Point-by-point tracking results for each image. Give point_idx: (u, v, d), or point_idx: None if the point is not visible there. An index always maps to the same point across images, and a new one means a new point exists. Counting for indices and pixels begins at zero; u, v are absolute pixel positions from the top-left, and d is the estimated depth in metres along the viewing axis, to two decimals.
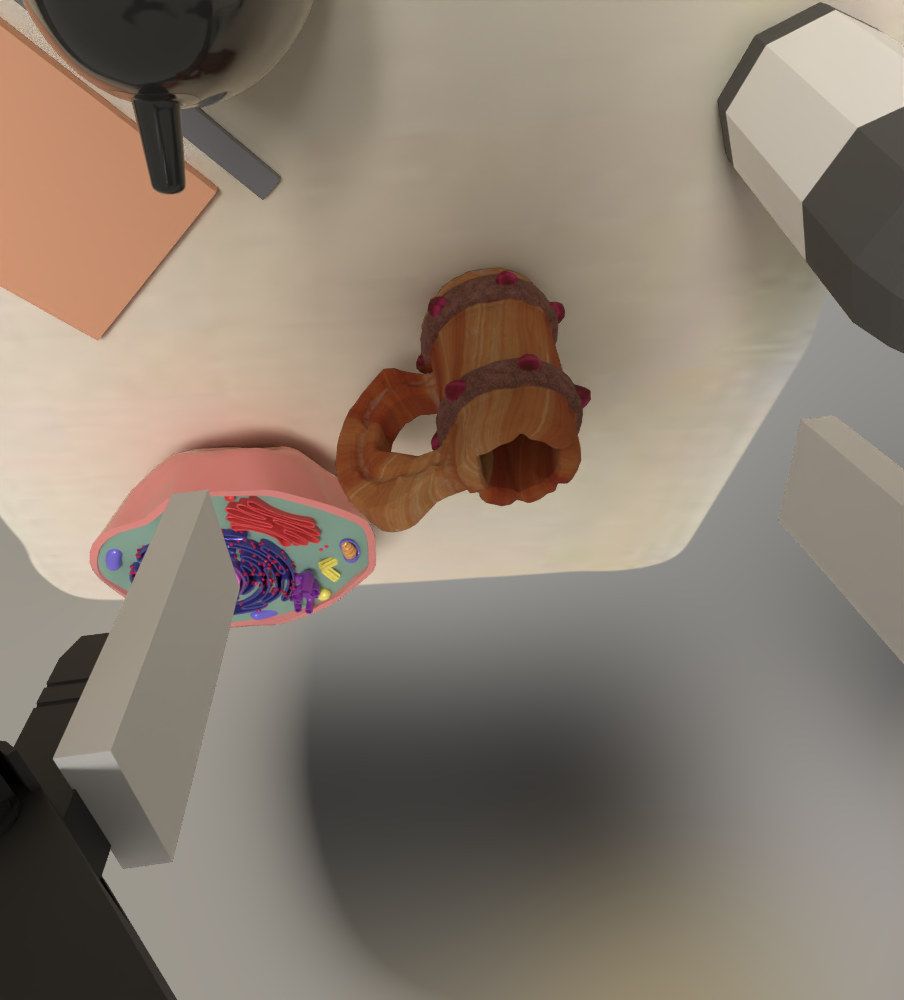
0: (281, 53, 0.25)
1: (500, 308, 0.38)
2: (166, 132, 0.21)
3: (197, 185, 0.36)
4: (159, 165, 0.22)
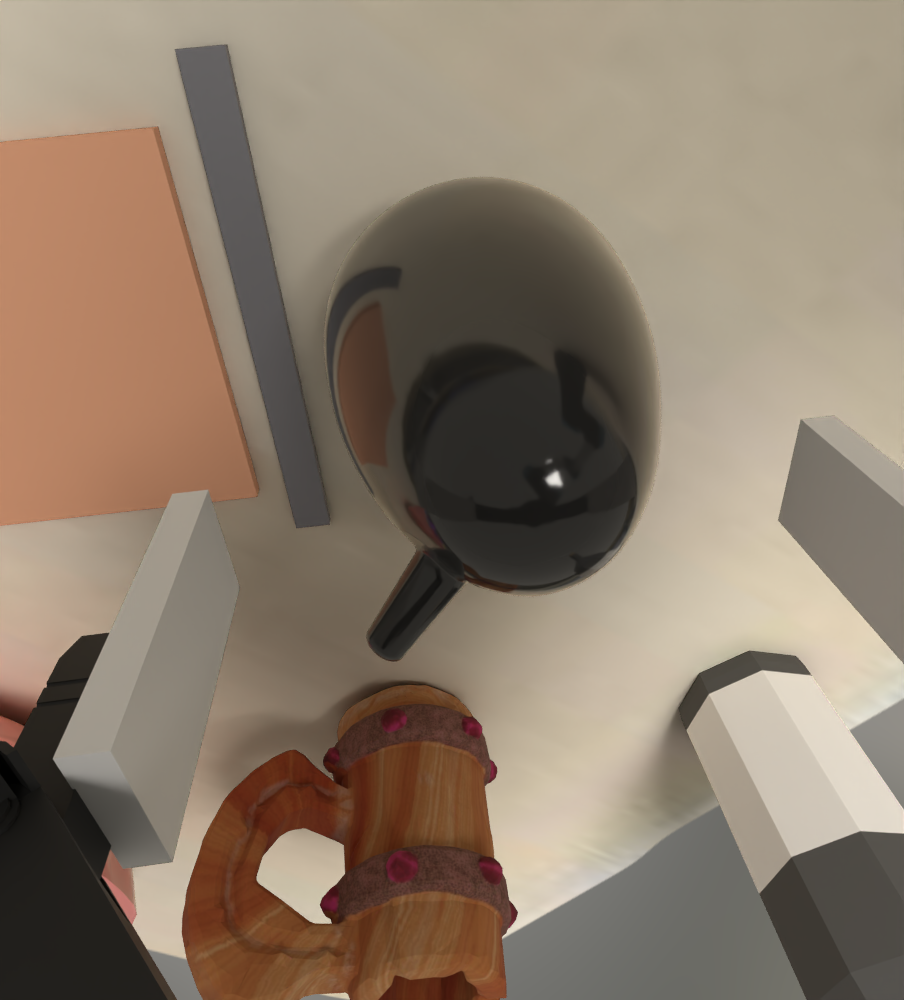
0: None
1: (456, 758, 0.34)
2: (439, 608, 0.16)
3: (244, 480, 0.29)
4: (403, 632, 0.16)
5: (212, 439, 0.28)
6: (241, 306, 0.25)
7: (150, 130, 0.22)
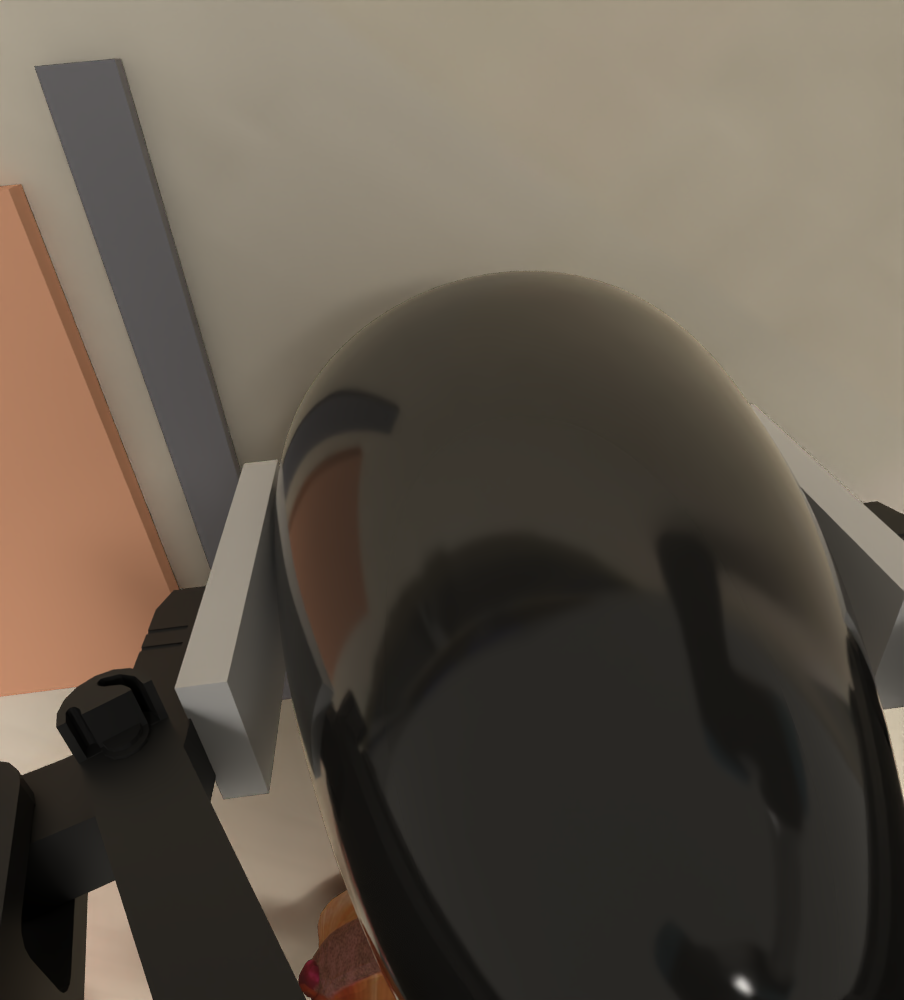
0: None
1: None
2: None
3: None
4: None
5: (134, 605, 0.20)
6: (165, 435, 0.17)
7: (5, 191, 0.14)
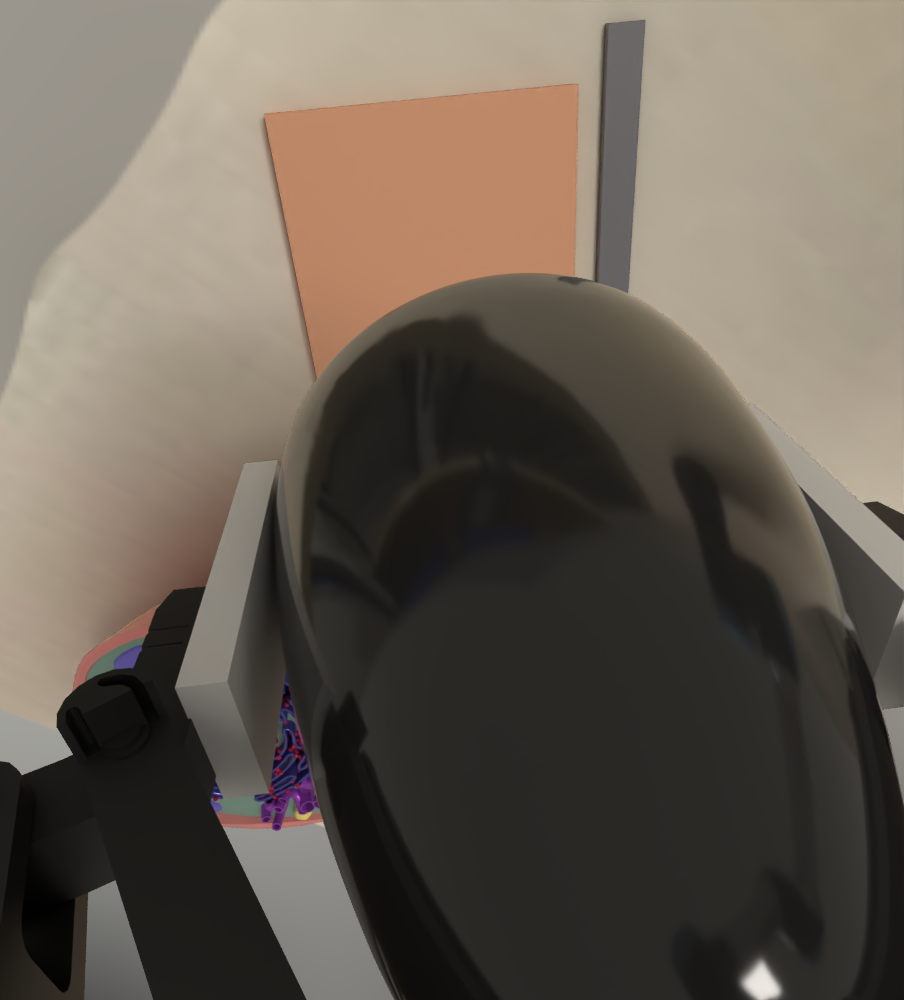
0: None
1: None
2: None
3: None
4: None
5: None
6: (601, 229, 0.32)
7: (576, 85, 0.28)
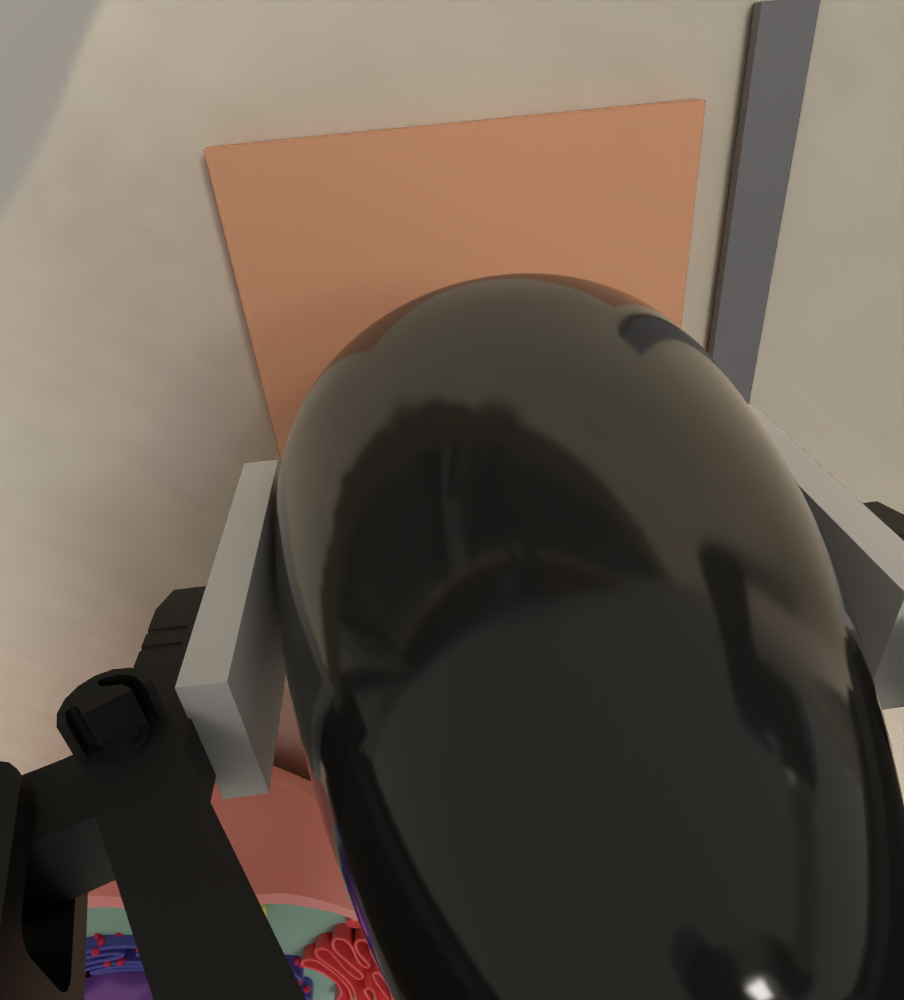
0: None
1: None
2: None
3: None
4: None
5: None
6: (720, 314, 0.21)
7: (701, 102, 0.18)
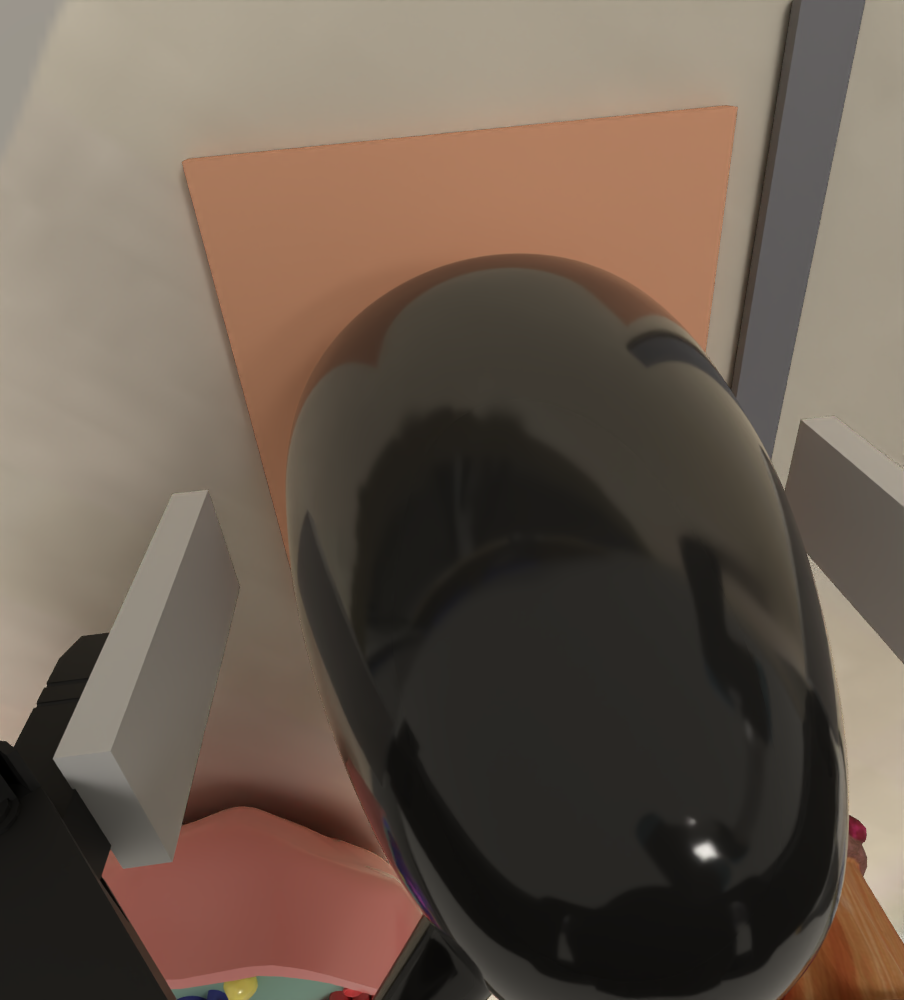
0: None
1: (849, 870, 0.28)
2: None
3: None
4: None
5: None
6: (748, 338, 0.20)
7: (733, 109, 0.16)
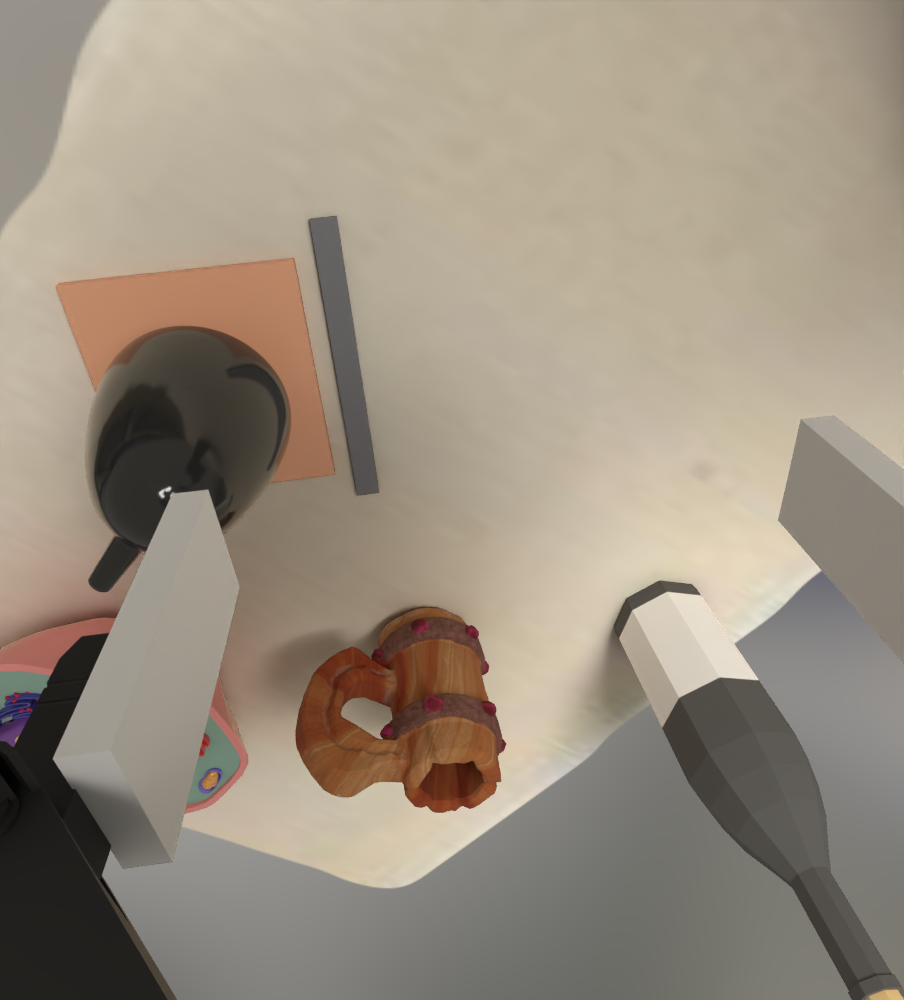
0: None
1: (462, 651, 0.51)
2: (124, 563, 0.31)
3: (327, 463, 0.46)
4: (105, 575, 0.31)
5: (309, 437, 0.44)
6: (333, 356, 0.42)
7: (292, 261, 0.39)
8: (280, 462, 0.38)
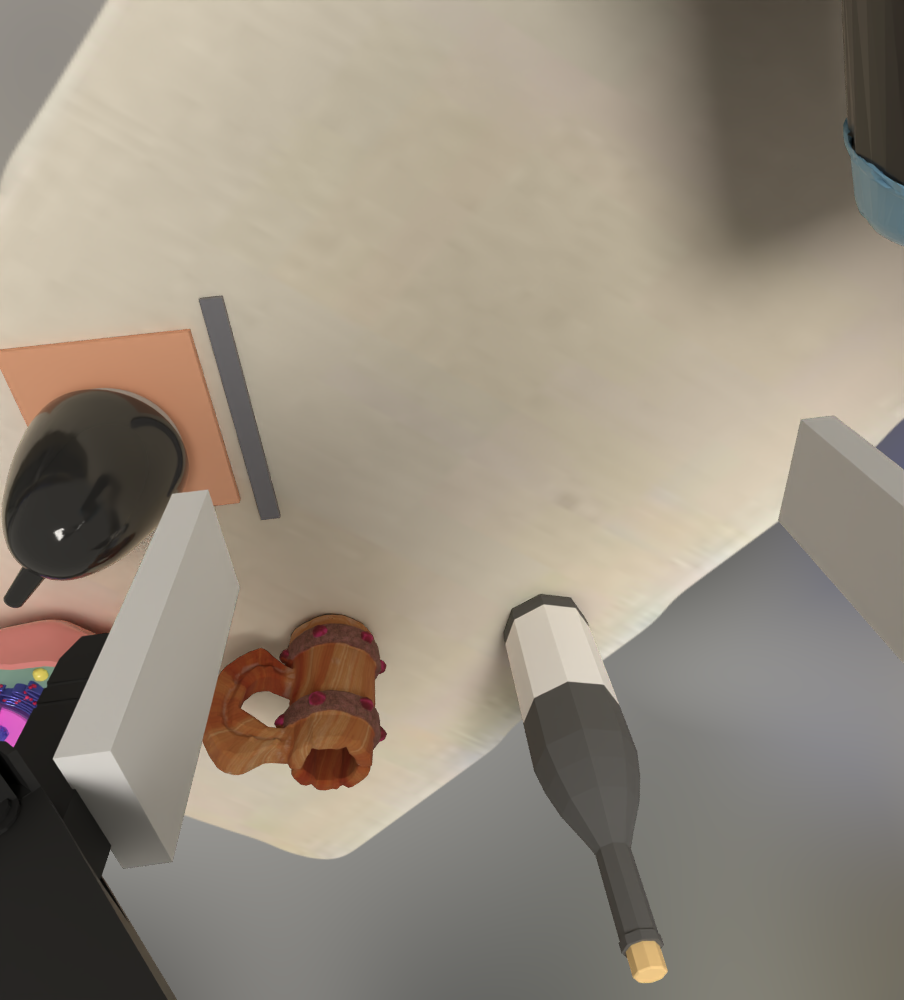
0: None
1: (356, 653, 0.59)
2: (31, 585, 0.40)
3: (232, 494, 0.54)
4: (16, 595, 0.40)
5: (215, 473, 0.53)
6: (229, 407, 0.50)
7: (186, 332, 0.47)
8: None
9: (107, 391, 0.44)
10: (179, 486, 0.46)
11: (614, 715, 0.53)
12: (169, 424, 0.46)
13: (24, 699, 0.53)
